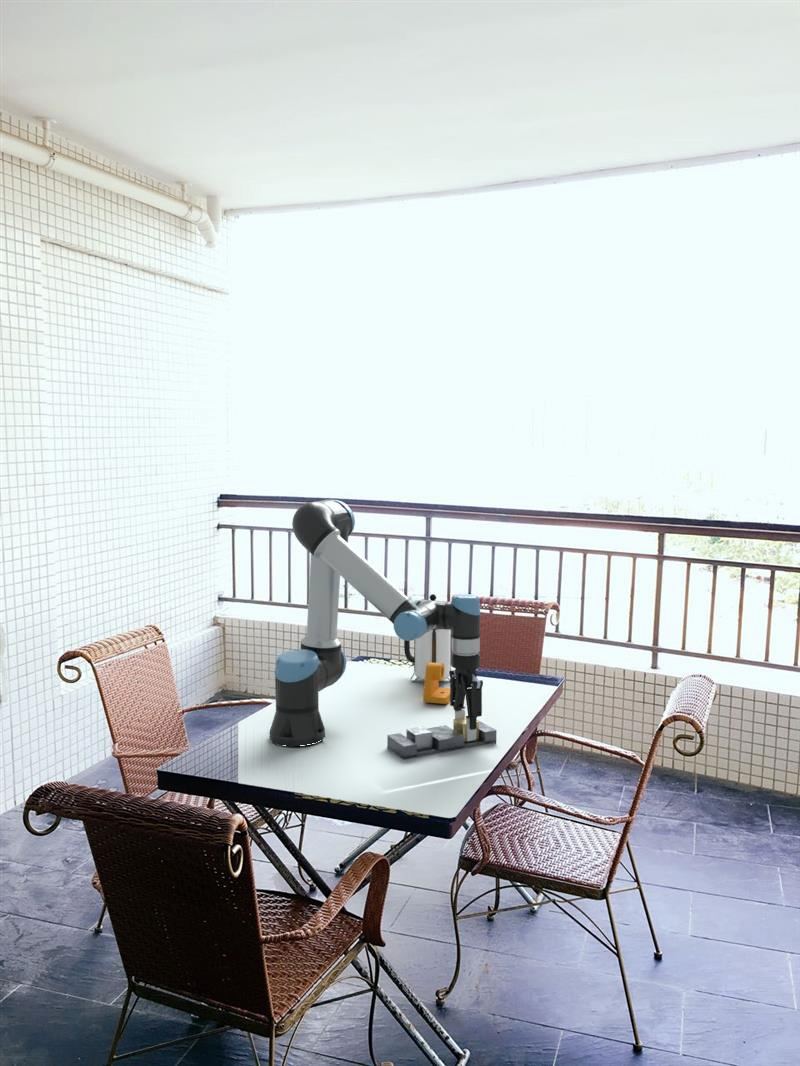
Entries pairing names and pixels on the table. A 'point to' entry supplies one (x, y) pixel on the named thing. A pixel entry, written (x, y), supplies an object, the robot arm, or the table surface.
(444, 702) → the bracket
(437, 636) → the coffee press
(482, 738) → the grey stepped block holder
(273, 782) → the table surface
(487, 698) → the table surface
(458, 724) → the sand colored cube
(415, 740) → the brushed aluminum cube
